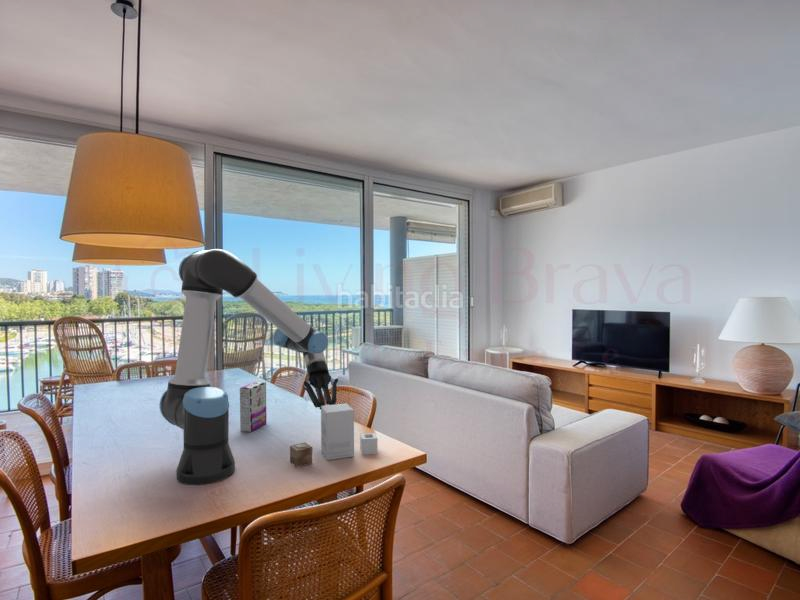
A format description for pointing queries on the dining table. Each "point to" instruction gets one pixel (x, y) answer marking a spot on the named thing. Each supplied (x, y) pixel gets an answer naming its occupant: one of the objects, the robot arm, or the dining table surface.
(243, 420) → the candy bar box
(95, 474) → the dining table surface
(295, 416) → the dining table surface
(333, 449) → the supplement box
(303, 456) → the walnut block
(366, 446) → the pale grey block
